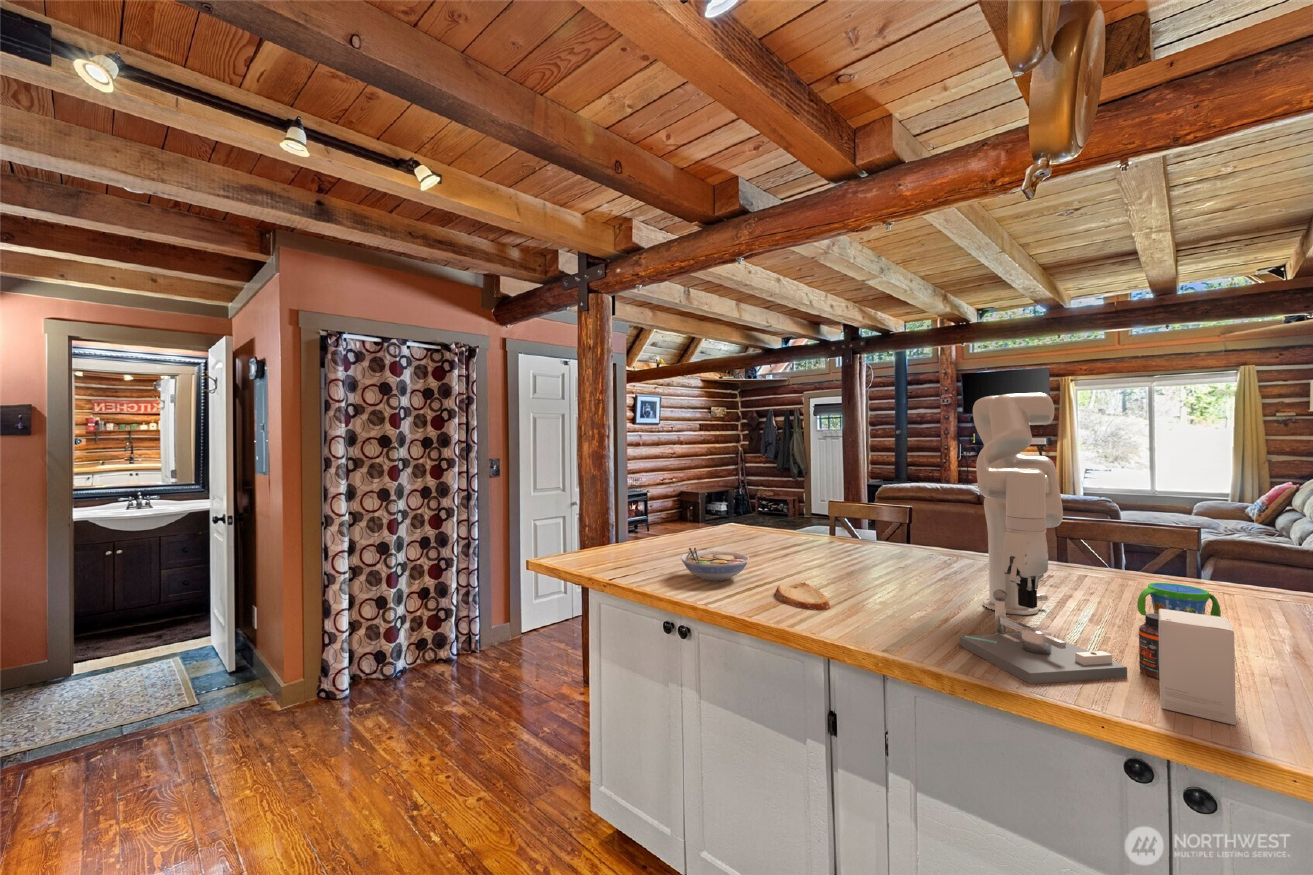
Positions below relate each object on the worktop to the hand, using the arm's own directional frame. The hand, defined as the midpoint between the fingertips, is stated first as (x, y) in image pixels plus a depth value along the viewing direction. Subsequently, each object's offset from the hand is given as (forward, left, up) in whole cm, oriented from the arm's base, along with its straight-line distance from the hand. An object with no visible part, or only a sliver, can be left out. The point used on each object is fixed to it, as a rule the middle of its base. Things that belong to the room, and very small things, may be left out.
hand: (1027, 606), depth 124 cm
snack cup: (-39, -1, -8) cm, 40 cm away
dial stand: (+7, +10, -8) cm, 15 cm away
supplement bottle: (-10, +20, -8) cm, 24 cm away
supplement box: (-3, +32, -8) cm, 33 cm away
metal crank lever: (+7, +8, -5) cm, 12 cm away
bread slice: (+37, -40, -8) cm, 55 cm away
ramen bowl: (+57, -67, -8) cm, 88 cm away
